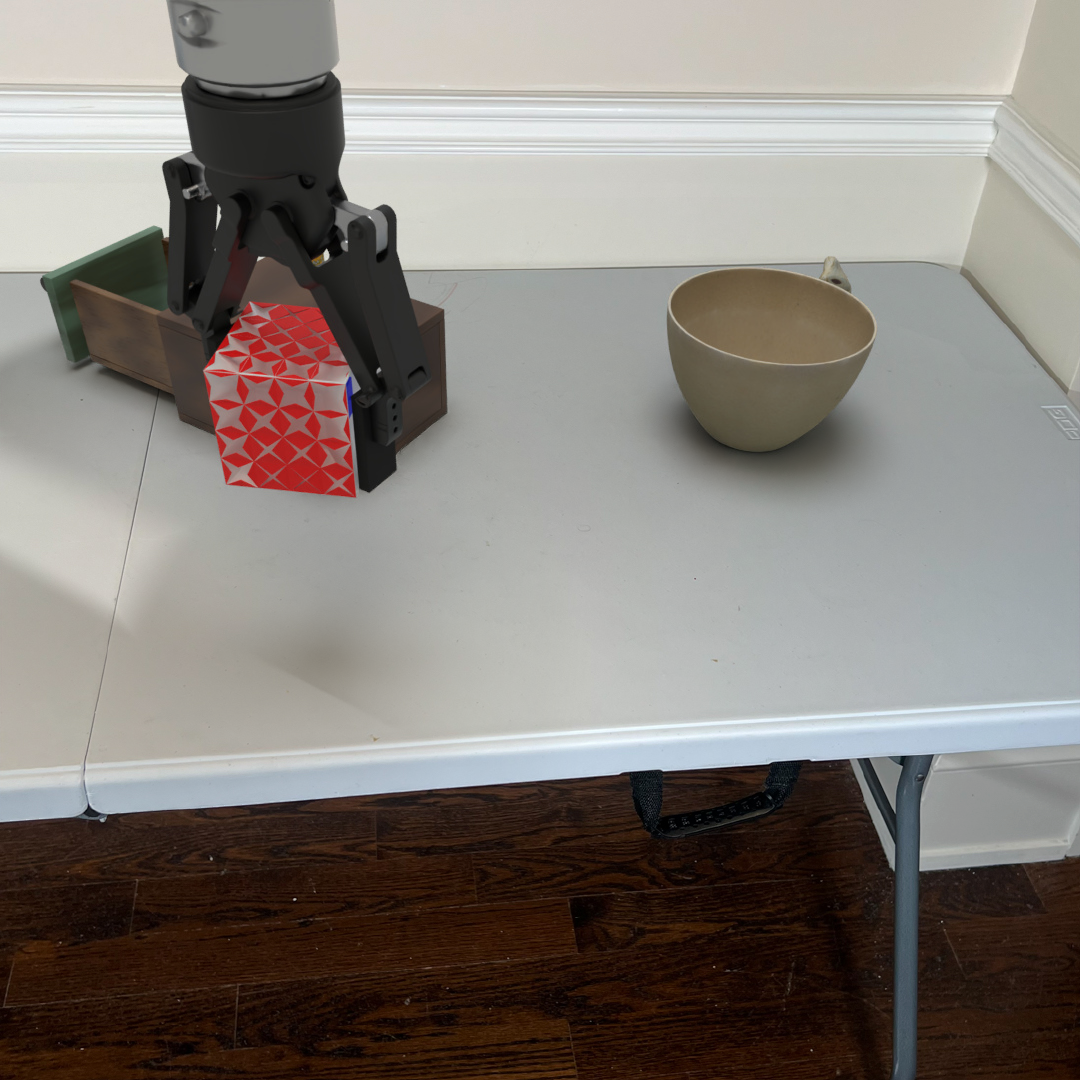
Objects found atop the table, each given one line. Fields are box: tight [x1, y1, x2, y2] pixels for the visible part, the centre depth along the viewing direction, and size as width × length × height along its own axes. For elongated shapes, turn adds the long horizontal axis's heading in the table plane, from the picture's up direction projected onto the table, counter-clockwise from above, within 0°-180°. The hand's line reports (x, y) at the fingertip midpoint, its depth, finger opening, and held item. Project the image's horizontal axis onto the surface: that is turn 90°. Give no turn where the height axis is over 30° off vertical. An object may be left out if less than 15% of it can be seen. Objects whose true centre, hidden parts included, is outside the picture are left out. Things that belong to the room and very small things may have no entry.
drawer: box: [39, 225, 192, 396], centre depth 100 cm, size 24×14×9 cm, turn 59°
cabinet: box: [156, 257, 448, 454], centre depth 93 cm, size 20×15×11 cm
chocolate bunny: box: [818, 255, 852, 294], centre depth 107 cm, size 6×8×10 cm
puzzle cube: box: [203, 301, 381, 499], centre depth 61 cm, size 8×8×8 cm
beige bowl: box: [666, 266, 878, 453], centre depth 94 cm, size 18×18×12 cm
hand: (308, 449), depth 64 cm, fingers closed on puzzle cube, 10 cm apart
